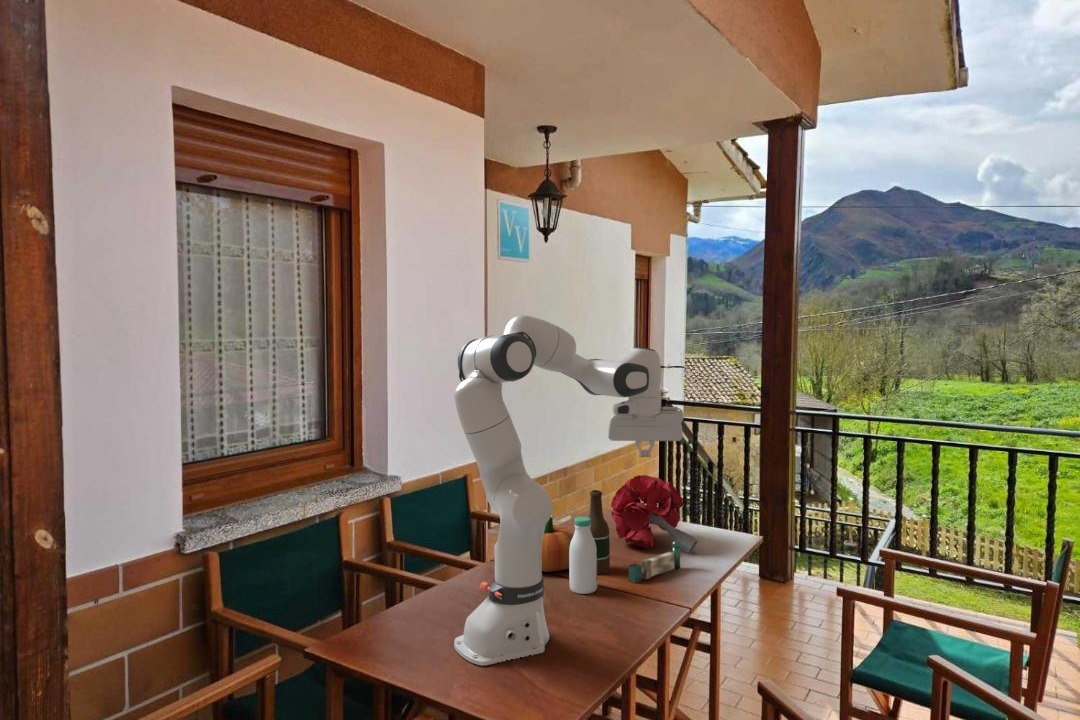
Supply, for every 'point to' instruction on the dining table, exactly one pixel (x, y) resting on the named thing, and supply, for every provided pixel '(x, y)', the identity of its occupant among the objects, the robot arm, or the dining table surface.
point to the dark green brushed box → (635, 572)
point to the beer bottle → (599, 532)
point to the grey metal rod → (660, 573)
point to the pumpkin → (555, 547)
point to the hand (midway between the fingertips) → (645, 456)
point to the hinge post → (676, 553)
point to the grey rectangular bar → (657, 565)
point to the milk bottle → (583, 558)
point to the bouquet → (648, 511)
